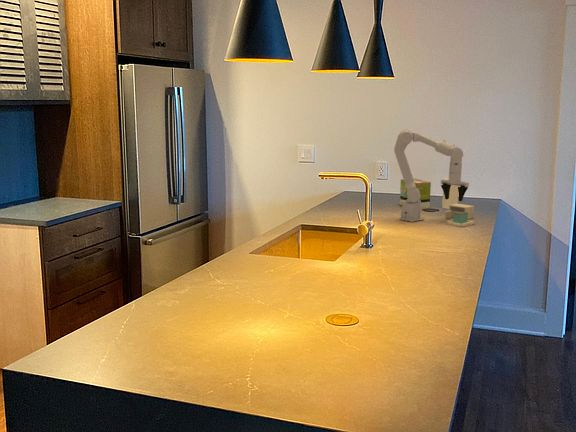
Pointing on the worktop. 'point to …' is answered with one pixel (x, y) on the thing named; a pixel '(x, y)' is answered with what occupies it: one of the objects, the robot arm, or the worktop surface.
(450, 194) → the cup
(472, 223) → the tray
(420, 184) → the tea box
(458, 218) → the tall grey-green carton
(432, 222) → the worktop surface
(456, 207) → the bay
